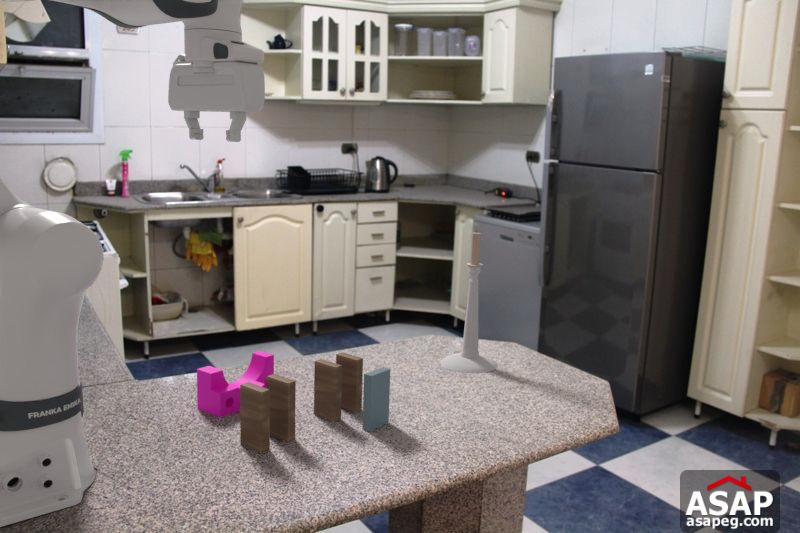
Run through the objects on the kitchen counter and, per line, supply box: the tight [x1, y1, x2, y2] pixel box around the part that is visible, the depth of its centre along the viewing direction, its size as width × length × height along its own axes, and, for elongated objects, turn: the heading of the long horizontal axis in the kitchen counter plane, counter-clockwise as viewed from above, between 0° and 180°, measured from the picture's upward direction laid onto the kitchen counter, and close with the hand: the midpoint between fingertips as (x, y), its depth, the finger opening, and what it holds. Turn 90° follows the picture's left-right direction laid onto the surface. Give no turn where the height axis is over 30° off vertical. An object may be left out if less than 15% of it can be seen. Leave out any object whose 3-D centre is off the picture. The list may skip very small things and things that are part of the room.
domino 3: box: [313, 358, 342, 423], centre depth 126 cm, size 2×5×10 cm, turn 52°
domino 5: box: [362, 366, 391, 432], centre depth 123 cm, size 2×5×10 cm, turn 142°
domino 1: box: [239, 382, 271, 454], centre depth 114 cm, size 2×5×10 cm, turn 52°
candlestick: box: [439, 230, 499, 374], centre depth 155 cm, size 13×13×30 cm
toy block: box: [196, 350, 275, 418], centre depth 133 cm, size 15×6×8 cm, turn 144°
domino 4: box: [335, 352, 364, 413], centre depth 131 cm, size 2×5×10 cm, turn 52°
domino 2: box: [267, 373, 297, 443], centre depth 118 cm, size 2×5×10 cm, turn 52°
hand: (214, 140), depth 117 cm, fingers open, 8 cm apart
